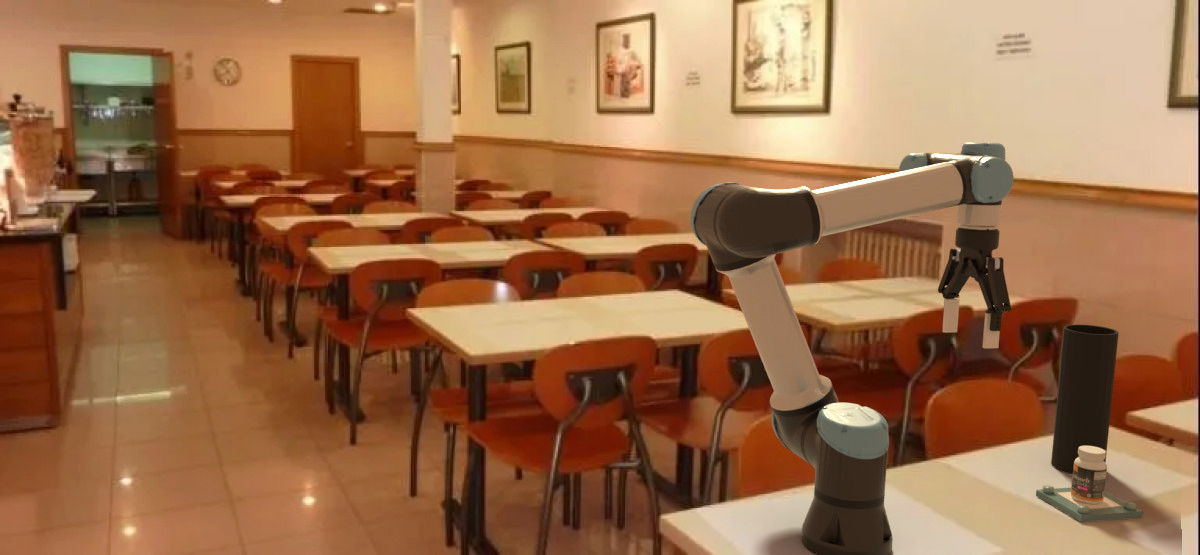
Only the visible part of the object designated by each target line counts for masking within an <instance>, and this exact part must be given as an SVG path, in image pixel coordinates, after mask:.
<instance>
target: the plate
mask: <svg viewBox="0 0 1200 555" xmlns="http://www.w3.org/2000/svg"><path fill="white" fill-rule="evenodd" d="M1035 496H1036V497H1038V498H1039V499H1041V500H1043V501H1045V502H1046V503H1047V504H1049V505H1051V506H1052V507H1055V508H1056V509H1058V510H1059V511H1061V512H1063V513H1064V514H1066V515H1068V516H1070V517H1071V518H1073V519H1074V520H1076V521H1078V522H1080V523H1084V522H1085V523H1086V522H1098V521H1099V522H1100V521H1111V520H1114V521H1115V520H1124V519H1125V520H1127V519H1139V518H1141V519H1142V518H1143V513H1144V511H1143V510H1141V509H1139V508H1138V507H1137V503H1136V502H1132V501H1125V500H1122V499H1120V498H1118V497H1117V496H1114V495H1113V494H1111V493H1109V492H1108V491H1106V490H1105V491H1104V499H1103V501H1102V502H1101V503H1099V504H1087V503H1083V502H1079V501H1077V500H1075V499H1073V498H1072V496H1071V487H1058V488H1055V487H1054V486H1052V485H1049V484H1048V485H1046V484H1045V485H1042V489H1036V491H1035Z"/></svg>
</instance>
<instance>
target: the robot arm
mask: <svg viewBox="0 0 1200 555" xmlns="http://www.w3.org/2000/svg"><path fill="white" fill-rule="evenodd" d="M1014 179H1015V178H1014V171H1013V169H1012V167H1011V165H1010V164H1009V163H1008V162H1007V160H1006V148H1005V146H1004V145H1003V144H1002V143H998V142H964V143H963V144H962V146H961V150H960V152H958V153H945V152H943V153H942V152H939V153H938V152H919V153H918V152H917V153H913V152H912V153H909V154H907V155H905V156H904V157H903V159H902V160H901V162H900V164H899V167H898V171H897V172H893V173H888V174H885V175H879V176H876V177H875V176H874V177H871V178H865V179H861V180H856V181H851V182H846V183H842V184H837V185H833V186H832V185H831V186H828V187H824V188H819V189H813V190H811V189H810V188H809V187H806V186H805V185H804V186H798V187H794V188H786V189H772V188H760V187H755V186H747V185H743V184H740V183H738V182H729V181H728V182H722V183H716V184H712V185H711V186H709V187H707V188H706V189H704V190H703V191H702V192H701V193H700V194H699V195H698V196H697V197H696V199H695V201H694V202H693V205H692V207H691V209H690V215H689V216H690V218H689V219H690V227H691V230H692V232H693V234H694V236H695V237H696V238H697V240H698V241H699V242H700V243H701V244H702V245H704V246H705V247H706V248H707V251H708V253H709V255H710V258H711V261H712V263H713V266H714V268H715V271H716V272H718V273H720V274H723V275H726V277H728V279H729V282H730V284H731V288H732V289H733V292H734V295H735V297H736V300H737V302H738V305H739V307H740V309H741V312H742V314H743V318H744V319H745V323H746V325H747V327H748V330H749V331H750V334H751V337H752V339H753V341H754V344H755V347H756V349H757V352H758V354H759V357H760V360H761V363H763V366H764V370H765V372H766V374H767V377H768V379H769V382H770V385H771V386H772V387H771V388H772V389H773V392H772V394H771V395H770V398H769V404H770V407H771V409H772V412H771V426H772V430H773V432H774V434H775V436H776V437H777V439H778V440H779V442H780V443H781V444H782V445H783V447H785V448H786V449H787V450H788V451H790V452H791V453H793V454H794V455H796V456H797V457H799V458H801V459H802V460H803V461H805V462H806V463H808V465H810V466H812V467H813V468H814V470H815V471H814V472H815V473H814V489H813V490H814V491H813V499H812V500H811V501H812V502H811V503H810V507H809V509H808V511H807V514H806V516H805V518H804V521H803V523H802V526H801V536H800V537H801V542H802V544H803V545H804V547H805V548H807V549H808V550H809V551H810V552H813V553H814V554H815V555H891V553H892V551H893V534H892V529H891V526H890V522H889V518H888V515H887V511H886V508H885V493H886V492H885V491H886V481H887V480H886V479H887V467H888V466H887V465H888V449H889V447H890V438H889V436H890V435H889V425H888V422H887V420H886V418H885V417H884V416H883V415H882V414H881V413H879V412H878V411H877V410H875V409H873V408H871V407H868V406H861V404H857V403H851V402H839V398H838V396H837V393H836V391H835V388H834V386H833V383H832V381H831V379H830V378H829V377H826V376H824V375H822V374H819V371H818V369H817V365H816V363H815V360H814V358H813V355H812V352H811V350H810V347H809V344H808V342H807V339H806V337H805V335H804V332H803V329H802V327H801V324H800V321H799V319H798V317H797V314H796V311H795V309H794V307H793V304H792V301H791V298H790V296H789V293H788V290H787V288H786V285H785V283H784V280H783V277H782V276H781V273H780V269H779V267H778V264H777V262H776V258H775V257H776V255H779V254H782V253H786V252H790V251H793V250H797V249H802V248H807V247H810V246H813V245H816V244H818V243H819V242H820V240H821V239H822V237H826V236H829V235H833V234H838V233H843V232H847V231H851V230H856V229H859V228H864V227H868V226H872V225H878V224H883V223H887V222H890V221H895V220H900V219H904V218H908V217H911V216H912V217H913V216H917V215H921V214H925V213H926V214H927V213H930V212H934V211H938V210H943V209H946V208H951V207H955V206H957V212H956V224H957V227H956V229H955V237H954V238H955V241H954V245H955V247H957V248H950V250H949V254H948V255H949V256H948V260H947V263H946V266H945V268H944V272H943V274H942V277H941V279H940V282H939V284H938V288H937V293H938V294H942V298H943V300H944V303H943V316H942V317H943V318H942V330H941V331H942V333H946V334H947V333H958V327H959V326H958V324H959V311H960V299H959V298H961V296H960V292H961V291H962V289H963V288H964V286H965V285H966V284H967V281H968V280H969V278H973V279H974V281H975V282H977V283H978V285H979V288H980V291H981V293H982V296H983V299H984V302H985V304H986V308H987V309H986V311H985V312H984V324H983V336H982V346H981V347H982V348H983V349H999V346H1000V345H999V343H1000V331H1001V328H1002V320H1003V319H1002V316H1003V314H1004V313H1005V312H1011V310H1012V306H1011V300H1010V297H1009V296H1010V295H1009V291H1008V285H1007V281H1006V276H1005V271H1004V261H1005V260H1004V258H1003V257H997V256H996V257H993V251H995V250H997V249H998V248H999V244H1000V242H999V241H1000V233H1001V232H1000V230H999V229H998V228H997V227H999V226H1000V225H1001V214H1002V202H1003V201H1002V200H1004V199H1005V198H1006V197H1007V196H1008V195H1009V194H1010V192H1011V190H1012V189H1013V185H1014ZM958 225H959V226H958Z"/></svg>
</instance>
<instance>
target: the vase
mask: <svg viewBox="0 0 1200 555" xmlns="http://www.w3.org/2000/svg"><path fill="white" fill-rule="evenodd" d="M1062 328H1063V330H1062V331H1063V332H1062V340H1061V352H1060V361H1059V362H1060V363H1059V373H1058V384H1057V385H1058V386H1057V397H1056V405H1055V416H1054V428H1053V429H1054V430H1053V437H1052V438H1053V439H1052V449H1051V450H1052V451H1051V460H1050V464H1051V465H1052V467H1053V466H1054V467H1053V468H1055V469H1056V470H1059V471H1060V472H1064V473H1067V474H1071V475H1073V468H1074V461H1075V459H1076V458H1078V457H1079V455H1078V448H1079V447H1080V446H1094V447H1098V448H1101V449H1103V450H1105V451H1106V454H1107V451H1108V443H1109V442H1108V441H1109V433H1110V424H1111V423H1110V421H1111V412H1112V403H1113V402H1112V401H1113V393H1114V392H1113V391H1114V380H1115V373H1116V363H1117V362H1116V361H1117V354H1118V344H1119V343H1118V342H1119V331H1118V330H1116V329H1114V328H1110V327H1106V326H1105V327H1104V326H1100V325H1094V324H1093V325H1092V324H1069V325H1068V324H1067V325H1064V326H1063V327H1062ZM1103 461H1104V462H1105V463H1106V461H1107V456H1106V457H1105V459H1104V460H1103ZM1106 464H1107V463H1106Z"/></svg>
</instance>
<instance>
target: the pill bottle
mask: <svg viewBox="0 0 1200 555" xmlns="http://www.w3.org/2000/svg"><path fill="white" fill-rule="evenodd" d="M1078 455H1079V457H1078V458H1076V459H1075V461H1074V468H1073V474H1072V477H1071V486H1070V488H1071V496H1072V498H1073V499H1075V500H1077V501H1079V502H1083V503H1087V504H1099V503H1101V502H1102V501H1103V499H1104V491H1105V492H1106V489H1105V488H1106V481H1107V473H1108V465H1107V463H1105V462H1104V461H1103V460H1104V459H1105V457H1106V458H1107V453H1106V451H1105V450H1103V449H1101V448H1098V447H1094V446H1080V447H1079V448H1078Z"/></svg>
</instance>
